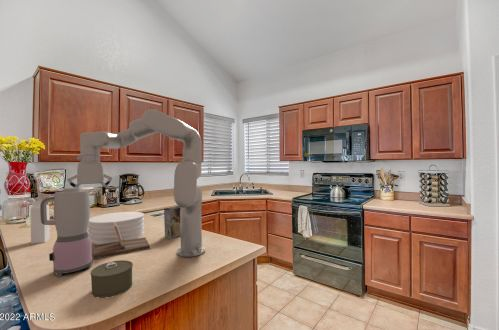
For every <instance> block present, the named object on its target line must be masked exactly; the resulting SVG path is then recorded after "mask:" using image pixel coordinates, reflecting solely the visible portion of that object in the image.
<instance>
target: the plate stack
mask: <svg viewBox="0 0 499 330" xmlns="http://www.w3.org/2000/svg"><path fill="white" fill-rule="evenodd" d="M144 216H145V213H143V212H139V211H123V212H122V211H120V212H112V213H111V212H110V213H105V214H100V215H96V216H95V215H94V216H93V217H90V218H89V225H88V231H87V232H88V235H89V237H90V239H91V242H92V245H100V244H106V243H112V242H118V241H119V239H118V236H117V233H116V230H115V227H114V222H116V223H117V226H118V229H119V232H120V235H121V238H122V239H123V241H125V240H131V239H137V238H142V236H144V234H145V222H144V221H145V218H144Z"/></svg>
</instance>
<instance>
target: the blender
mask: <svg viewBox="0 0 499 330" xmlns="http://www.w3.org/2000/svg"><path fill="white" fill-rule="evenodd" d="M91 192H92V190H87V189H81V187H80V186H79V187H75V188H74V187H65V188H63V191H56V192H54V193H53V194H54V195H53V196H49V197H46V198H44V199H42V200H41V201H42V202H41V205H40V215H41V223H42V224H44V225H49V226H53V225H54V226H55V231H56V235H57V238H56V240H55V242H54V245H53V246H52V252H51V253H49V254H48V257H49V258H48V260H49V261H50V262H51V261H52V262H53V263H52V264H53V273H55V275H56V277H62V276H64V275H63V274H69V273H73V272H77V271H81V270H83V269H87V270H90V269H91V268H92V265H93V255H92V253H93V249H92V245H93V244H92V242H91V239H90V237H89V235H88V234H89V233H88V229H89V228H88V225H89V219H90V218H91V217H90V216H91V203H90V202H91V201H90V194H91ZM52 202H53V219H51V220H50V219H49V220H47V211H46V205H47V204H48V203H52Z"/></svg>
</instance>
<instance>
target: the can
mask: <svg viewBox="0 0 499 330" xmlns="http://www.w3.org/2000/svg"><path fill="white" fill-rule="evenodd" d="M133 265H134V264H133V262H132V261H130V260H124V259H123V260H121V259H120V260H114V261H113V260H112V261H108V262H105V263H102V264H100V265H99V264H98V265H97V266H95V267H93V269H92V270H90V276H91V277H90V278H91V281H90V282H91V285H90V286H91V295H93V296H94V297H93V296H92V297H93V298H96V297H99V298H98V299H107V298H106V297H108V298H112V296H113V297H116V296H119V295H121V294H124V293H125V292H128V290H131V288H132V286H133Z"/></svg>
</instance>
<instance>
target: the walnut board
mask: <svg viewBox="0 0 499 330" xmlns="http://www.w3.org/2000/svg"><path fill="white" fill-rule="evenodd" d="M122 241H123V239H122ZM123 245H124V246H121V244H120V242H119V241H118V242H112V243H106V244H94V246H93V252H92V253H93V255H92V260H95V259H101V258H107V257H111V256H118V255H123V254H128V253H133V252H139V251H144V250H150V249H151V246H150V243H149V241H148V240H147V237H146V236H144V237H139V238H136V239H131V240H125V241H123Z"/></svg>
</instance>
